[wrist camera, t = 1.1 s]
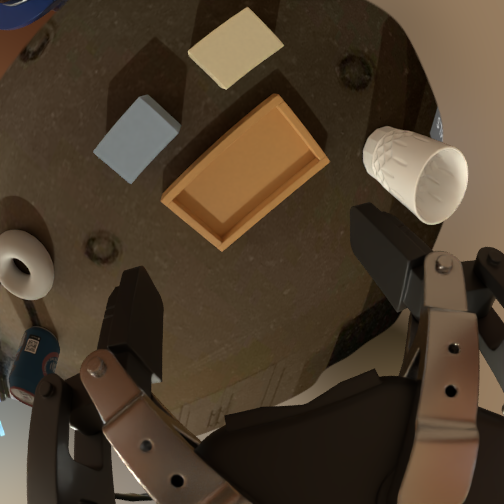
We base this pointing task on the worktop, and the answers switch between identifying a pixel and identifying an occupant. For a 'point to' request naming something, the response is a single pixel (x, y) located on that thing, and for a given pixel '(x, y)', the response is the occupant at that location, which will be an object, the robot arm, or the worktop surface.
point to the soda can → (33, 363)
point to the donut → (33, 256)
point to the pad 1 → (137, 138)
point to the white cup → (417, 171)
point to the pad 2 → (235, 48)
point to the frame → (245, 173)
